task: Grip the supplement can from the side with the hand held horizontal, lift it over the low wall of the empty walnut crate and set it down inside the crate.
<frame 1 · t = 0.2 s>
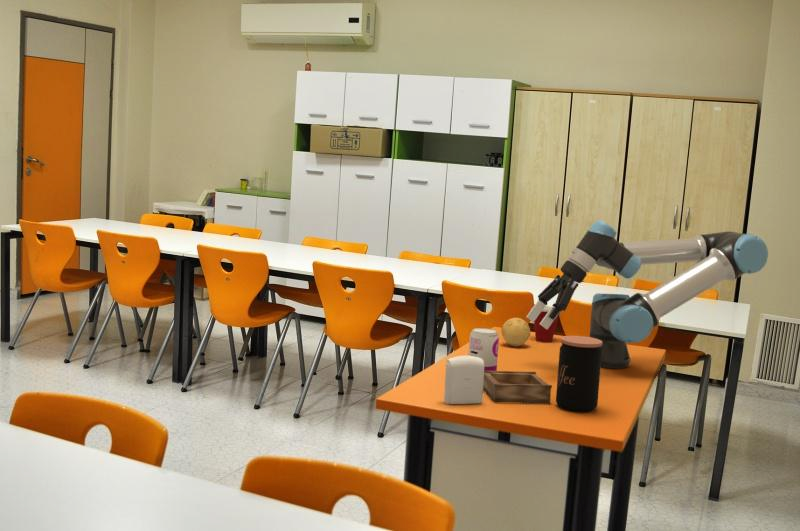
hand: (536, 323, 262), 15 cm above the table, tool tilted 35°, fingers open, 13 cm apart
supplement can: (481, 382, 247), on the table
stress ball: (514, 346, 301), on the table
crate: (514, 395, 234), on the table
coffee jar: (576, 408, 225), on the table
white rounded block: (462, 403, 224), on the table
plastic cup: (543, 341, 314), on the table
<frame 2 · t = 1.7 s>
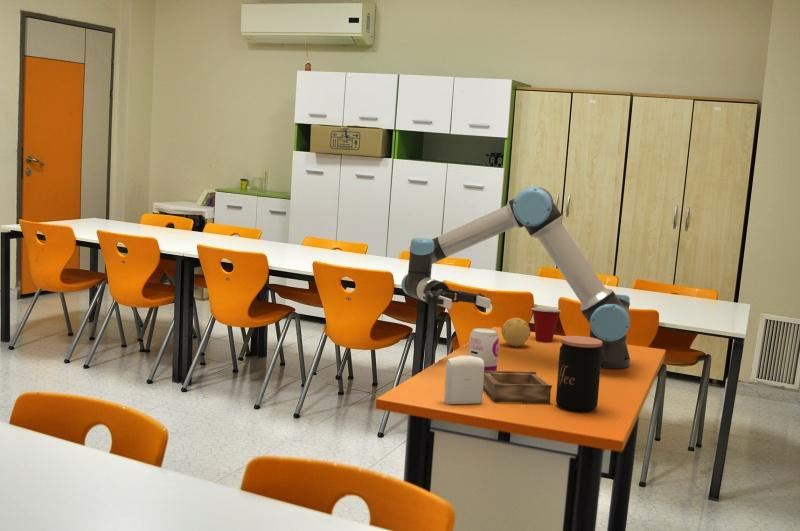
hand: (470, 304, 252), 21 cm above the table, tool horizontal, fingers open, 13 cm apart
nothing on the table moved.
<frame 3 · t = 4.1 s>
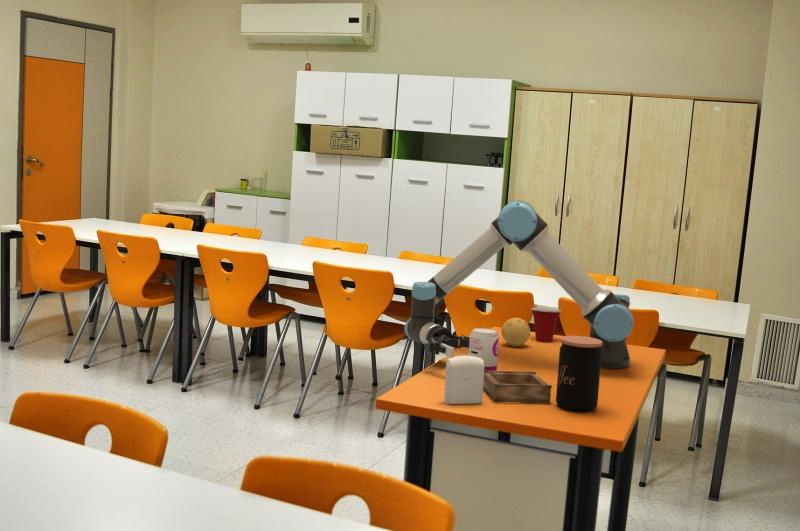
hand: (473, 351, 250), 8 cm above the table, tool horizontal, fingers open, 13 cm apart
nothing on the table moved.
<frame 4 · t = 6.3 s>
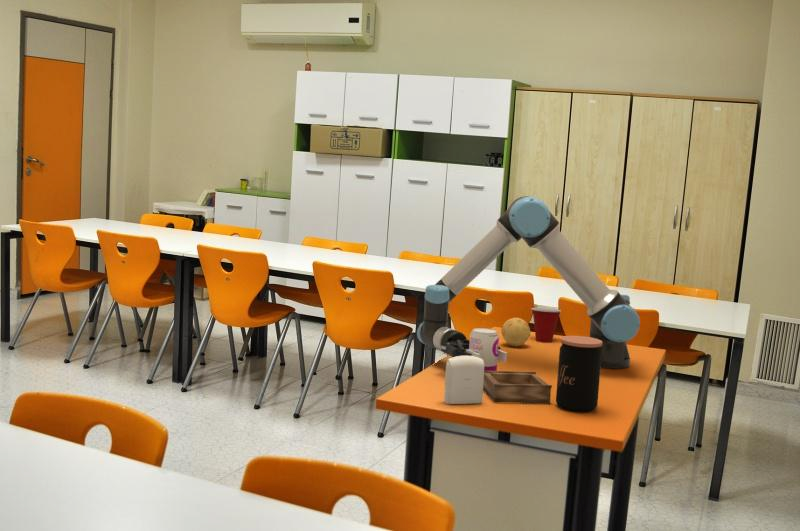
hand: (492, 358, 242), 8 cm above the table, tool horizontal, fingers closed on supplement can, 8 cm apart
supplement can: (481, 382, 247), on the table, touching gripper
everything else where it was.
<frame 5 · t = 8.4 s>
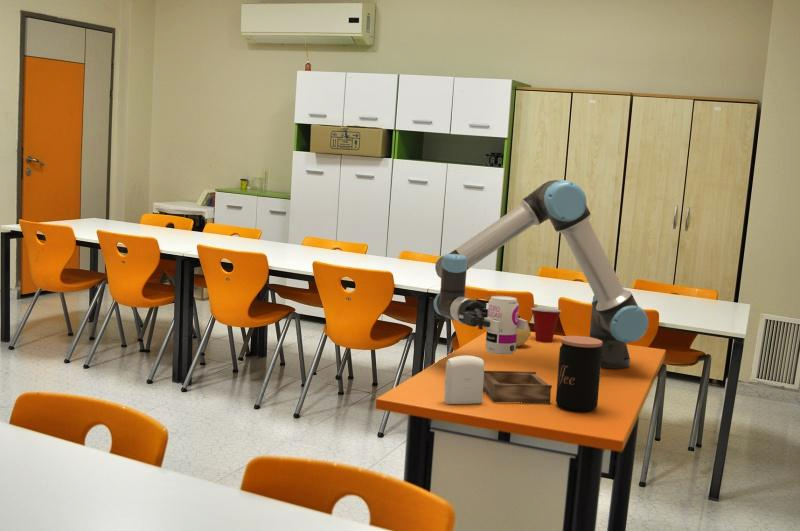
hand: (512, 326, 232), 19 cm above the table, tool horizontal, fingers closed on supplement can, 8 cm apart
supplement can: (500, 352, 237), point 11 cm above the table, touching gripper
everything else where it was.
when the fingers open (10 cm above the table, at t = 10.9 s): supplement can drops 1 cm, resting on crate.
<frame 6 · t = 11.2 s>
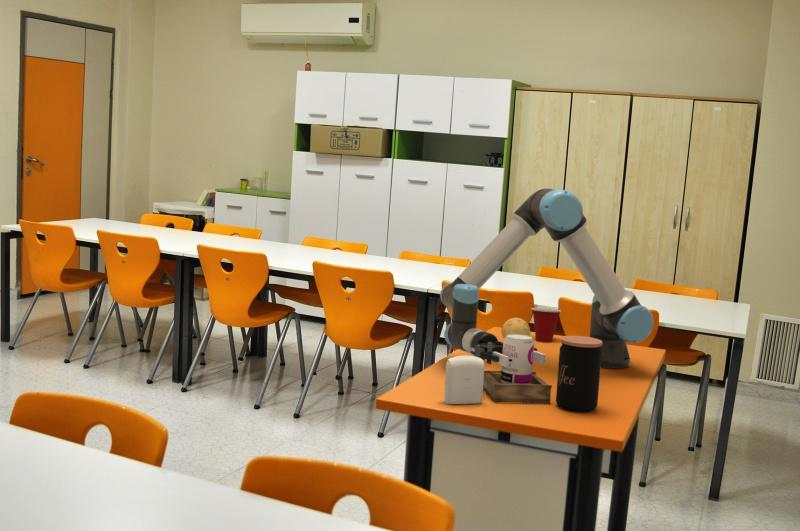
hand: (526, 360, 229), 10 cm above the table, tool horizontal, fingers open, 11 cm apart
supplement can: (515, 391, 234), point 1 cm above the table, touching crate
everything else where it was.
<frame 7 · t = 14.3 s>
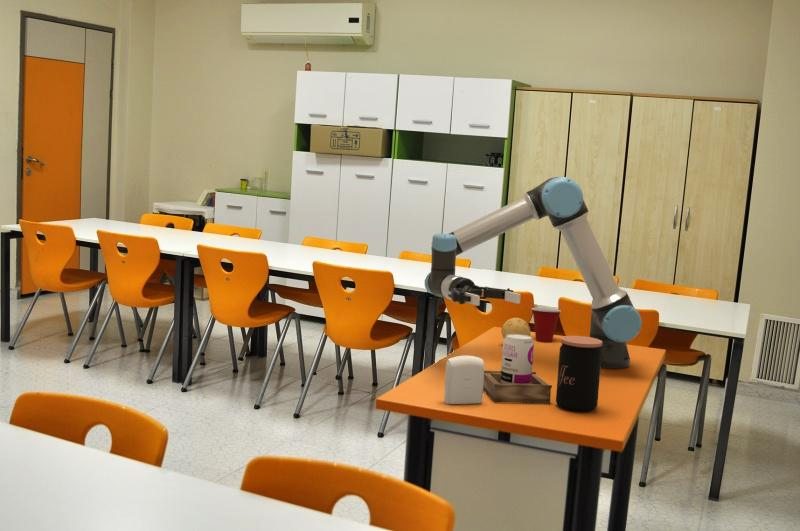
hand: (499, 299, 240), 25 cm above the table, tool horizontal, fingers open, 13 cm apart
nothing on the table moved.
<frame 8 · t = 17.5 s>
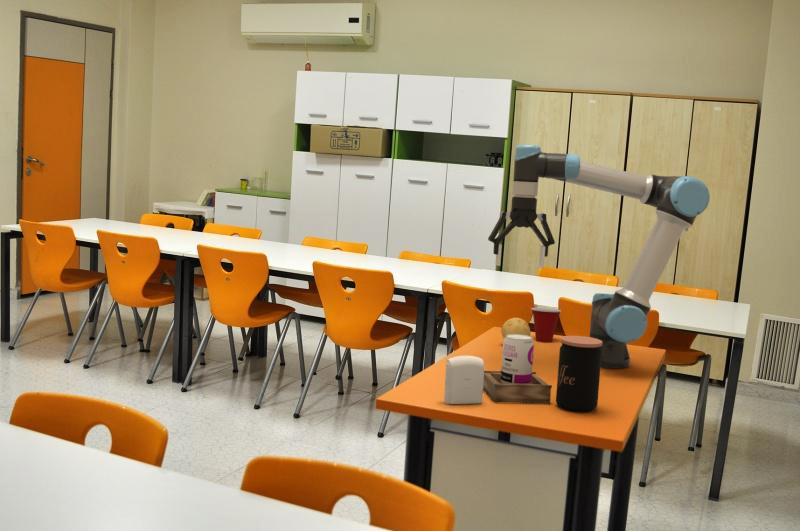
hand: (519, 266, 263), 32 cm above the table, tool pointing down, fingers open, 13 cm apart
nothing on the table moved.
at the end: supplement can inside the target area on the crate (0.1 cm from its centre), point 1.0 cm above the crate's base; supplement can tilted 0°; the gripper is holding nothing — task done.
